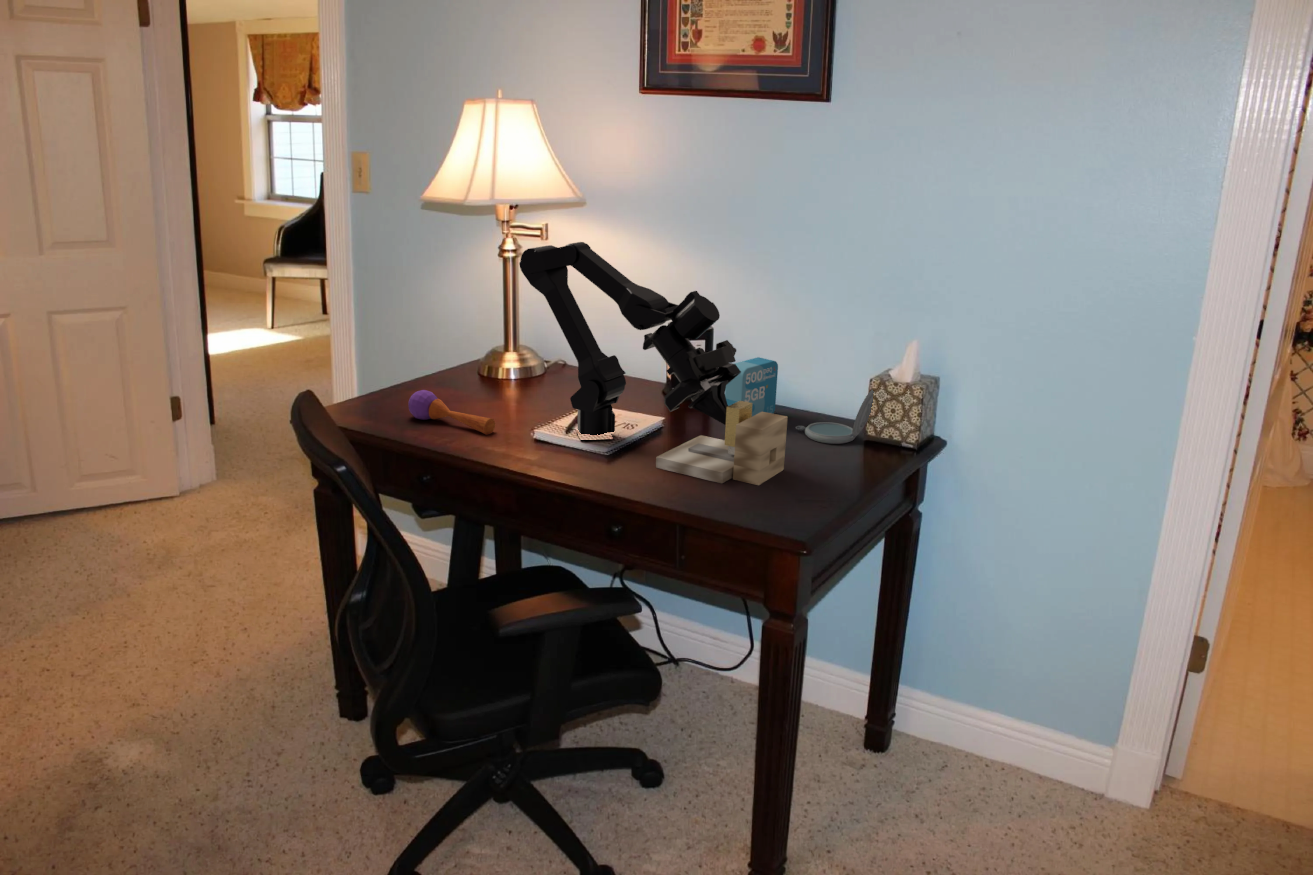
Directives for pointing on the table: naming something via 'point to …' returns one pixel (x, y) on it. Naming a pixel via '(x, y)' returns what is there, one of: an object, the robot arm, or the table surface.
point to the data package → (754, 385)
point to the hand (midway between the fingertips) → (730, 424)
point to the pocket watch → (840, 426)
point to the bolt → (735, 421)
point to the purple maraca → (445, 412)
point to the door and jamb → (751, 461)
